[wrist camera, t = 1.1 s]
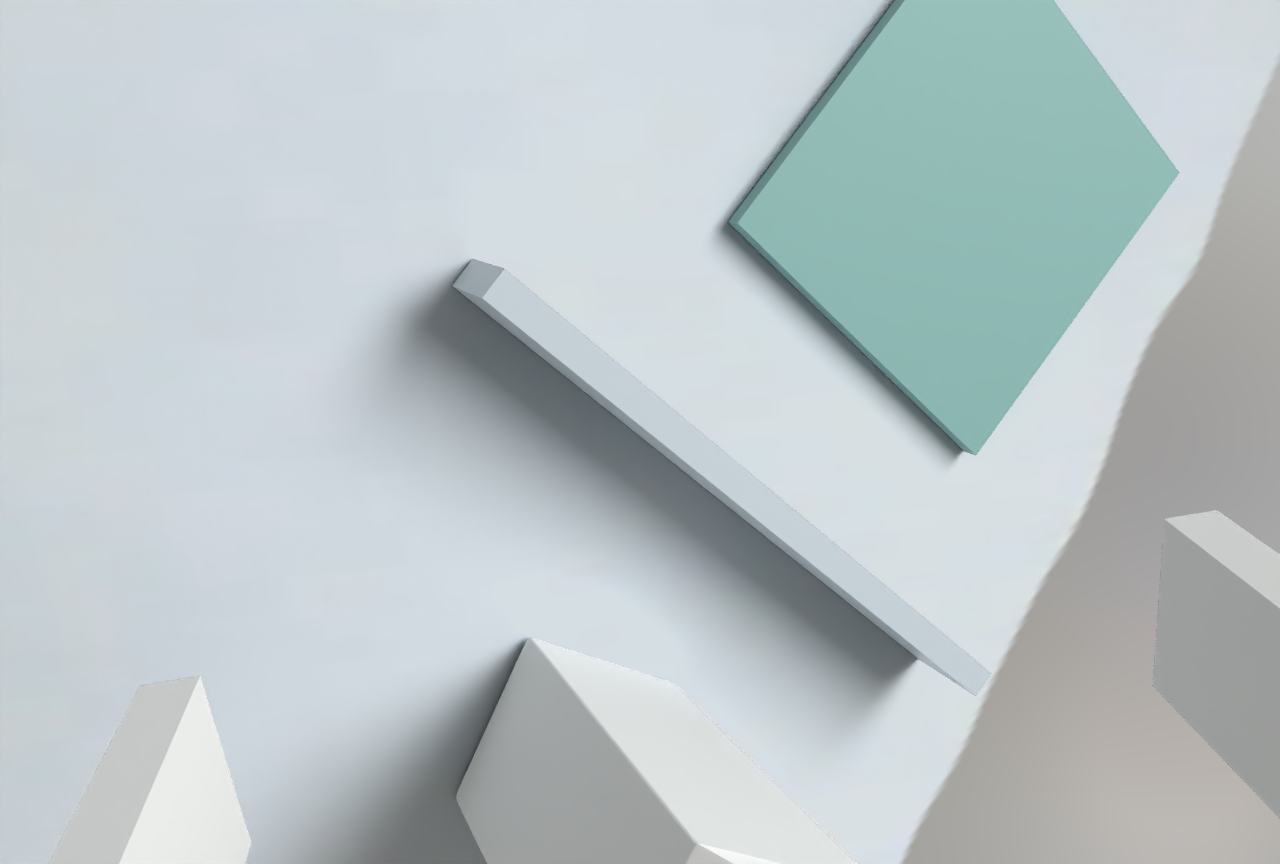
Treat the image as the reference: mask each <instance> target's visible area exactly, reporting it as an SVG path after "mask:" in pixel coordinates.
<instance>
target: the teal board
mask: <svg viewBox="0 0 1280 864" xmlns="http://www.w3.org/2000/svg"><path fill="white" fill-rule="evenodd" d="M1178 174H1179V171H1178V170H1177V169H1176V167H1175V166H1174V165H1173V163H1172V162H1171V160H1170V159H1169V158H1168V156H1167V155H1166V154H1165V152H1164V151H1163V150H1162V148H1161V147H1160V145H1159V144H1158V143H1157V141H1156V140H1155V139H1154V137H1153V136H1152V134H1151V133H1150V132H1149V130H1148V129H1147V128H1146V126H1145V125H1144V124H1143V122H1142V121H1141V119H1140V118H1139V117H1138V115H1137V114H1136V113H1135V111H1134V110H1133V108H1132V107H1131V106H1130V104H1129V103H1128V102H1127V100H1126V99H1125V97H1124V96H1123V95H1122V93H1121V92H1120V91H1119V89H1118V88H1117V87H1116V85H1115V84H1114V82H1113V81H1112V80H1111V78H1110V77H1109V76H1108V74H1107V73H1106V71H1105V70H1104V69H1103V67H1102V66H1101V65H1100V63H1099V62H1098V61H1097V59H1096V58H1095V56H1094V55H1093V54H1092V52H1091V51H1090V50H1089V48H1088V47H1087V45H1086V44H1085V43H1084V41H1083V40H1082V39H1081V37H1080V36H1079V34H1078V33H1077V32H1076V30H1075V29H1074V28H1073V26H1072V25H1071V24H1070V22H1069V21H1068V19H1067V18H1066V17H1065V15H1064V14H1063V13H1062V11H1061V10H1060V8H1059V7H1058V6H1057V4H1056V3H1055V2H1054V0H894V2H893V3H892V4H891V6H890V7H889V8H888V10H887V11H886V12H885V14H884V15H883V16H882V18H881V19H880V20H879V22H878V23H877V24H876V26H875V27H874V28H873V30H872V31H871V32H870V34H869V35H868V36H867V38H866V39H865V40H864V42H863V43H862V44H861V46H860V47H859V48H858V50H857V51H856V52H855V54H854V55H853V56H852V58H851V59H850V60H849V62H848V63H847V64H846V66H845V67H844V68H843V70H842V71H841V72H840V74H839V75H838V76H837V78H836V79H835V80H834V82H833V83H832V84H831V86H830V87H829V88H828V89H827V91H826V92H825V93H824V95H823V96H822V97H821V99H820V100H819V101H818V103H817V104H816V105H815V107H814V108H813V109H812V111H811V112H810V113H809V115H808V116H807V117H806V119H805V120H804V121H803V123H802V124H801V125H800V127H799V128H798V129H797V131H796V132H795V133H794V135H793V136H792V137H791V139H790V140H789V141H788V143H787V144H786V145H785V147H784V148H783V149H782V151H781V152H780V153H779V155H778V156H777V157H776V159H775V160H774V161H773V163H772V164H771V165H770V167H769V168H768V169H767V171H766V172H765V173H764V175H763V176H762V177H761V178H760V180H759V181H758V182H757V184H756V185H755V186H754V188H753V189H752V190H751V192H750V193H749V194H748V196H747V197H746V198H745V200H744V201H743V202H742V204H741V205H740V206H739V208H738V209H737V210H736V212H735V213H734V214H733V216H732V217H731V218H730V220H729V221H728V223H729V224H730V225H731V226H732V227H734V228H735V229H736V230H737V231H738V232H739V233H740V234H741V235H742V236H743V237H744V238H745V239H746V240H747V241H748V242H749V243H750V244H751V245H752V246H753V247H754V248H755V249H756V250H757V251H758V252H759V253H760V254H761V255H762V256H763V257H764V258H765V259H766V260H768V261H769V262H770V263H771V264H772V265H773V266H774V267H775V268H776V269H777V270H778V271H779V272H780V273H781V274H782V275H783V276H784V277H785V278H786V279H787V280H788V281H789V282H790V283H791V284H792V285H793V286H794V287H795V288H796V289H797V290H798V291H799V292H801V293H802V294H803V295H804V296H805V297H806V298H807V299H808V300H809V301H810V302H811V303H812V304H813V305H814V306H815V307H816V308H817V309H818V310H819V311H820V312H821V313H822V314H823V315H824V316H825V317H826V318H827V319H828V320H829V321H830V322H831V323H832V324H833V325H835V326H836V327H837V328H838V329H839V330H840V331H841V332H842V333H843V334H844V335H845V336H846V337H847V338H848V339H849V340H850V341H851V342H852V343H853V344H854V345H855V346H856V347H857V348H858V349H859V350H860V351H861V352H862V353H863V354H864V355H865V356H866V357H868V358H869V359H870V360H871V361H872V362H873V363H874V364H875V365H876V366H877V367H878V368H879V369H880V370H881V371H882V372H883V373H884V374H885V375H886V376H887V377H888V378H889V379H890V380H891V381H892V382H893V383H894V384H895V385H896V386H897V387H898V388H899V389H900V390H902V391H903V392H904V393H905V394H906V395H907V396H908V397H909V398H910V399H911V400H912V401H913V402H914V403H915V404H916V405H917V406H918V407H919V408H920V409H921V410H922V411H923V412H924V413H925V414H926V415H927V416H928V417H929V418H930V419H931V420H932V421H933V422H934V423H936V424H937V425H938V426H939V427H940V428H941V429H942V430H943V431H944V432H945V433H946V434H947V435H948V436H949V437H950V438H951V439H952V440H953V441H954V442H955V443H956V444H957V445H958V446H959V447H960V448H961V449H962V450H963V451H965V452H968V453H970V454H973V455H977V453H978V452H979V450H980V449H981V448H982V446H983V445H984V444H985V442H986V441H987V439H988V438H989V437H990V435H991V434H992V432H993V431H994V430H995V428H996V427H997V425H998V424H999V423H1000V421H1001V420H1002V419H1003V417H1004V416H1005V414H1006V413H1007V412H1008V410H1009V409H1010V407H1011V406H1012V405H1013V403H1014V402H1015V400H1016V399H1017V398H1018V396H1019V395H1020V394H1021V392H1022V391H1023V389H1024V388H1025V387H1026V385H1027V384H1028V382H1029V381H1030V380H1031V378H1032V377H1033V375H1034V374H1035V373H1036V371H1037V370H1038V369H1039V367H1040V366H1041V364H1042V363H1043V362H1044V360H1045V359H1046V357H1047V356H1048V355H1049V353H1050V352H1051V350H1052V349H1053V348H1054V346H1055V345H1056V344H1057V342H1058V341H1059V339H1060V338H1061V337H1062V335H1063V334H1064V332H1065V331H1066V330H1067V328H1068V327H1069V325H1070V324H1071V323H1072V321H1073V320H1074V319H1075V317H1076V316H1077V314H1078V313H1079V312H1080V310H1081V309H1082V307H1083V306H1084V305H1085V303H1086V302H1087V300H1088V299H1089V298H1090V296H1091V295H1092V294H1093V292H1094V291H1095V289H1096V288H1097V287H1098V285H1099V284H1100V282H1101V281H1102V280H1103V278H1104V277H1105V275H1106V274H1107V273H1108V271H1109V270H1110V269H1111V267H1112V266H1113V264H1114V263H1115V262H1116V260H1117V259H1118V257H1119V256H1120V255H1121V253H1122V252H1123V250H1124V249H1125V248H1126V246H1127V245H1128V244H1129V242H1130V241H1131V239H1132V238H1133V237H1134V235H1135V234H1136V232H1137V231H1138V230H1139V228H1140V227H1141V225H1142V224H1143V223H1144V221H1145V220H1146V219H1147V217H1148V216H1149V214H1150V213H1151V212H1152V210H1153V209H1154V207H1155V206H1156V205H1157V203H1158V202H1159V200H1160V199H1161V198H1162V196H1163V195H1164V194H1165V192H1166V191H1167V189H1168V188H1169V187H1170V185H1171V184H1172V182H1173V181H1174V180H1175V178H1176V177H1177V175H1178Z"/></svg>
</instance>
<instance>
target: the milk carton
mask: <svg viewBox="0 0 1280 864" xmlns="http://www.w3.org/2000/svg"><path fill="white" fill-rule="evenodd" d="M456 800H457V803H458V805H459V807H460V809H461V811H462V813H463V815H464V817H465V819H466V822H467V824H468V826H469V828H470V830H471V832H472V834H473V836H474V838H475V840H476V842H477V844H478V846H479V848H480V850H481V853H482V855H483V857H484V859H485V861H486V863H487V864H857V863H856V862H855V861H854V860H853V859H852V858H851V857H850V856H849V855H848V854H847V853H846V852H845V851H844V850H843V849H842V848H841V847H840V846H839V845H838V844H837V843H836V842H835V841H834V840H833V839H832V838H831V837H830V836H829V835H828V834H827V833H826V832H825V831H824V830H823V829H822V828H821V827H820V826H819V825H818V824H817V823H816V822H815V821H814V820H813V819H812V818H811V817H810V816H809V815H808V814H807V813H806V812H805V811H804V810H803V809H802V808H801V807H800V806H799V805H798V804H797V803H796V802H795V801H794V800H793V799H792V798H791V797H790V796H789V795H788V794H787V793H786V792H785V791H784V790H783V789H782V788H781V787H780V786H779V785H777V784H776V783H775V782H774V781H773V780H772V779H771V778H770V777H769V776H768V775H767V774H766V773H765V772H764V771H763V770H762V769H761V768H760V767H759V766H758V765H757V764H756V763H755V762H754V761H753V760H752V759H751V758H750V757H749V756H748V755H747V754H746V753H745V752H744V751H743V750H742V749H741V748H740V747H739V746H738V745H737V744H736V743H735V742H734V741H733V740H732V739H731V738H730V737H729V736H728V735H727V734H726V733H725V732H724V731H723V730H722V729H721V728H720V727H719V726H718V725H717V724H716V723H715V722H714V721H713V720H712V719H711V718H710V717H709V716H708V715H707V714H706V713H705V712H704V711H703V710H702V709H701V708H700V707H699V706H698V705H697V704H696V703H695V702H694V701H693V700H692V699H691V698H690V697H689V696H688V695H687V694H685V693H684V692H683V691H682V690H681V689H680V688H679V687H678V686H677V685H676V684H675V683H673V682H670V681H667V680H664V679H661V678H658V677H655V676H651V675H648V674H645V673H642V672H639V671H636V670H633V669H629V668H626V667H623V666H620V665H617V664H614V663H611V662H607V661H604V660H601V659H598V658H595V657H592V656H589V655H585V654H582V653H579V652H576V651H573V650H570V649H567V648H563V647H560V646H557V645H554V644H551V643H548V642H544V641H541V640H538V639H535V638H529V639H528V640H527V641H526V643H525V645H524V647H523V649H522V651H521V653H520V655H519V658H518V660H517V662H516V664H515V666H514V669H513V671H512V673H511V675H510V677H509V679H508V682H507V684H506V686H505V688H504V690H503V693H502V695H501V697H500V699H499V701H498V704H497V706H496V708H495V710H494V712H493V714H492V717H491V719H490V721H489V723H488V725H487V728H486V730H485V732H484V734H483V736H482V739H481V741H480V743H479V745H478V747H477V750H476V752H475V754H474V756H473V758H472V760H471V763H470V765H469V767H468V769H467V771H466V774H465V776H464V778H463V780H462V782H461V785H460V787H459V789H458V792H457V795H456Z"/></svg>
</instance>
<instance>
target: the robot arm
mask: <svg viewBox="0 0 1280 864" xmlns="http://www.w3.org/2000/svg"><path fill="white" fill-rule="evenodd" d="M1155 643H1156V644H1155V657H1154V671H1153V685H1152V686H1153V687H1154V688H1155V689H1156V690H1157V691H1158V692H1159V693H1160V694H1161V695H1162V696H1163V697H1164V698H1165V699H1166V701H1167V702H1168V703H1170V705H1171V706H1172V707H1173V708H1174V709H1175V710H1176V711H1177V712H1178V713H1179V714H1180V715H1181V716H1182V717H1183V718H1184V719H1185V720H1186V721H1187V722H1188V723H1189V724H1190V726H1191V727H1192V728H1193V729H1194V730H1195V731H1196V732H1197V733H1198V734H1199V735H1200V736H1201V737H1202V738H1203V739H1204V740H1205V741H1206V742H1207V743H1208V744H1209V745H1210V746H1211V747H1212V748H1213V749H1214V750H1215V752H1216V753H1217V754H1218V755H1219V756H1220V757H1221V758H1222V759H1223V760H1224V761H1225V762H1226V763H1227V764H1228V765H1229V766H1230V767H1231V768H1232V769H1233V770H1234V771H1235V772H1236V773H1237V774H1238V775H1239V776H1240V778H1241V779H1242V780H1243V781H1244V782H1245V783H1246V784H1247V785H1248V786H1249V787H1250V788H1251V789H1252V790H1253V791H1254V792H1255V793H1256V794H1257V795H1258V796H1259V797H1260V798H1261V799H1262V800H1263V801H1264V803H1265V804H1267V806H1268V807H1269V808H1270V809H1271V810H1272V811H1273V812H1274V813H1275V814H1276V815H1277V816H1278V817H1279V818H1280V555H1279V554H1278V553H1276V552H1275V551H1274V550H1272V549H1271V548H1269V547H1268V546H1267V545H1265V544H1264V543H1262V542H1261V541H1259V540H1258V539H1257V538H1255V537H1254V536H1252V535H1251V534H1250V533H1248V532H1247V531H1245V530H1244V529H1242V528H1241V527H1240V526H1238V525H1237V524H1235V523H1234V522H1233V521H1231V520H1230V519H1228V518H1227V517H1225V516H1224V515H1223V514H1221V513H1220V512H1218V511H1217V510H1216V511H1210V512H1203V513H1198V514H1192V515H1185V516H1179V517H1173V518H1167V519H1164V529H1163V543H1162V557H1161V571H1160V585H1159V600H1158V614H1157V629H1156V642H1155ZM250 846H251V840H250V837H249V833H248V830H247V827H246V824H245V820H244V817H243V814H242V811H241V807H240V804H239V801H238V798H237V794H236V791H235V788H234V785H233V781H232V778H231V775H230V772H229V768H228V765H227V762H226V759H225V755H224V752H223V749H222V746H221V742H220V739H219V736H218V733H217V730H216V726H215V723H214V720H213V717H212V713H211V710H210V707H209V704H208V700H207V697H206V694H205V691H204V687H203V684H202V681H201V678H200V676H196V677H190V678H183V679H177V680H171V681H165V682H159V683H153V684H147V685H140V686H139V688H138V690H137V692H136V694H135V696H134V698H133V700H132V702H131V704H130V706H129V708H128V710H127V712H126V713H125V715H124V717H123V719H122V721H121V723H120V725H119V727H118V729H117V731H116V733H115V735H114V737H113V739H112V741H111V743H110V745H109V747H108V749H107V751H106V753H105V754H104V756H103V758H102V760H101V762H100V764H99V766H98V768H97V770H96V772H95V774H94V776H93V778H92V780H91V782H90V784H89V786H88V788H87V790H86V792H85V794H84V795H83V797H82V799H81V801H80V803H79V805H78V807H77V809H76V811H75V813H74V815H73V817H72V819H71V821H70V823H69V825H68V827H67V829H66V831H65V833H64V835H63V837H62V838H61V840H60V842H59V844H58V846H57V848H56V850H55V852H54V854H53V856H52V858H51V860H50V862H49V864H245V863H246V860H247V856H248V853H249V849H250Z"/></svg>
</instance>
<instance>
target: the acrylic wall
mask: <svg viewBox="0 0 1280 864" xmlns="http://www.w3.org/2000/svg"><path fill="white" fill-rule="evenodd" d="M452 286H453V287H454V288H455V289H457V290H458V291H459V292H460V293H462V294H463V295H464V296H465V297H467V298H468V299H469V300H470V301H472V302H473V303H474V304H475V305H477V306H478V307H479V308H480V309H482V310H483V311H484V312H485V313H487V314H488V315H489V316H490V317H492V318H493V319H494V320H495V321H497V322H498V323H499V324H500V325H502V326H503V327H504V328H505V329H507V330H508V331H509V332H510V333H512V334H513V335H514V336H515V337H517V338H518V339H519V340H520V341H522V342H523V343H524V344H525V345H527V346H528V347H529V348H530V349H532V350H533V351H534V352H535V353H537V354H538V355H539V356H540V357H542V358H543V359H544V360H545V361H547V362H548V363H549V364H550V365H552V366H553V367H554V368H555V369H557V370H558V371H559V372H560V373H562V374H563V375H564V376H565V377H567V378H568V379H569V380H570V381H572V382H573V383H574V384H575V385H577V386H578V387H579V388H580V389H582V390H583V391H584V392H585V393H587V394H588V395H589V396H590V397H592V398H593V399H594V400H595V401H597V402H598V403H599V404H600V405H602V406H603V407H604V408H605V409H607V410H608V411H609V412H610V413H612V414H613V415H614V416H615V417H617V418H618V419H619V420H620V421H622V422H623V423H624V424H625V425H627V426H628V427H629V428H630V429H632V430H633V431H634V432H635V433H637V434H638V435H639V436H640V437H642V438H643V439H644V440H645V441H647V442H648V443H649V444H650V445H652V446H653V447H654V448H655V449H657V450H658V451H659V452H660V453H662V454H663V455H664V456H665V457H667V458H668V459H669V460H670V461H672V462H673V463H674V464H675V465H677V466H678V467H679V468H680V469H682V470H683V471H684V472H685V473H687V474H688V475H689V476H690V477H692V478H693V479H694V480H695V481H697V482H698V483H699V484H700V485H702V486H703V487H704V488H705V489H707V490H708V491H709V492H710V493H712V494H713V495H714V496H715V497H717V498H718V499H719V500H720V501H722V502H723V503H724V504H725V505H727V506H728V507H729V508H730V509H732V510H733V511H734V512H735V513H737V514H738V515H739V516H740V517H742V518H743V519H744V520H745V521H747V522H748V523H749V524H750V525H752V526H753V527H754V528H755V529H757V530H758V531H759V532H760V533H762V534H763V535H764V536H765V537H767V538H768V539H769V540H770V541H772V542H773V543H774V544H775V545H777V546H778V547H779V548H780V549H782V550H783V551H784V552H785V553H787V554H788V555H789V556H790V557H792V558H793V559H794V560H795V561H797V562H798V563H799V564H800V565H802V566H803V567H804V568H805V569H807V570H808V571H809V572H810V573H812V574H813V575H814V576H815V577H817V578H818V579H819V580H820V581H822V582H823V583H824V584H825V585H827V586H828V587H829V588H830V589H832V590H833V591H834V592H835V593H837V594H838V595H839V596H840V597H842V598H843V599H844V600H845V601H847V602H848V603H849V604H850V605H852V606H853V607H854V608H855V609H857V610H858V611H859V612H860V613H862V614H863V615H864V616H865V617H867V618H868V619H869V620H870V621H872V622H873V623H874V624H875V625H877V626H878V627H879V628H880V629H882V630H883V631H884V632H885V633H887V634H888V635H889V636H890V637H892V638H893V639H894V640H895V641H897V642H898V643H899V644H900V645H902V646H903V647H904V648H905V649H907V650H908V651H909V652H910V653H912V654H913V655H914V656H915V657H917V658H918V659H919V660H921V661H922V662H924V663H925V664H927V665H928V666H930V667H931V668H933V669H935V670H936V671H938V672H939V673H941V674H942V675H944V676H945V677H947V678H949V679H950V680H952V681H953V682H955V683H956V684H958V685H959V686H961V687H962V688H964V689H966V690H967V691H969V692H970V693H972V694H973V695H975V696H976V695H977V694H978V692H979V691H980V689H981V688H982V686H983V685H984V684H985V682H986V681H987V679H988V678H989V677H990V675H991V674H992V673H991V672H989V671H988V670H987V669H986V668H985V667H983V666H982V665H981V664H980V663H979V662H977V661H976V660H975V659H974V658H973V657H971V656H970V655H969V654H968V653H966V652H965V651H964V650H963V649H962V648H960V647H959V646H958V645H957V644H956V643H954V642H953V641H952V640H951V639H950V638H948V637H947V636H946V635H945V634H944V633H942V632H941V631H940V630H939V629H938V628H936V627H935V626H934V625H933V624H932V623H930V622H929V621H928V620H927V619H926V618H924V617H923V616H922V615H921V614H920V613H918V612H917V611H916V610H915V609H914V608H912V607H911V606H910V605H909V604H908V603H906V602H905V601H904V600H903V599H902V598H900V597H899V596H898V595H897V594H896V593H894V592H893V591H892V590H891V589H890V588H888V587H887V586H886V585H885V584H884V583H882V582H881V581H880V580H879V579H877V578H876V577H875V576H874V575H873V574H871V573H870V572H869V571H868V570H867V569H865V568H864V567H863V566H862V565H861V564H859V563H858V562H857V561H856V560H855V559H853V558H852V557H851V556H850V555H849V554H847V553H846V552H845V551H844V550H843V549H841V548H840V547H839V546H838V545H837V544H835V543H834V542H833V541H832V540H831V539H829V538H828V537H827V536H826V535H825V534H823V533H822V532H821V531H820V530H819V529H817V528H816V527H815V526H814V525H813V524H811V523H810V522H809V521H808V520H807V519H805V518H804V517H803V516H802V515H801V514H799V513H798V512H797V511H796V510H795V509H793V508H792V507H791V506H790V505H789V504H787V503H786V502H785V501H784V500H782V499H781V498H780V497H779V496H778V495H776V494H775V493H774V492H773V491H772V490H770V489H769V488H768V487H767V486H766V485H764V484H763V483H762V482H761V481H760V480H758V479H757V478H756V477H755V476H754V475H752V474H751V473H750V472H749V471H748V470H746V469H745V468H744V467H743V466H742V465H740V464H739V463H738V462H737V461H736V460H734V459H733V458H732V457H731V456H730V455H728V454H727V453H726V452H725V451H724V450H722V449H721V448H720V447H719V446H718V445H716V444H715V443H714V442H713V441H712V440H710V439H709V438H708V437H707V436H706V435H704V434H703V433H702V432H701V431H700V430H698V429H697V428H696V427H695V426H693V425H692V424H691V423H690V422H689V421H687V420H686V419H685V418H684V417H683V416H681V415H680V414H679V413H678V412H677V411H675V410H674V409H673V408H672V407H671V406H669V405H668V404H667V403H666V402H665V401H663V400H662V399H661V398H660V397H659V396H657V395H656V394H655V393H654V392H653V391H651V390H650V389H649V388H648V387H647V386H645V385H644V384H643V383H642V382H641V381H639V380H638V379H637V378H636V377H635V376H633V375H632V374H631V373H630V372H629V371H627V370H626V369H625V368H624V367H623V366H621V365H620V364H619V363H618V362H617V361H615V360H614V359H613V358H612V357H611V356H609V355H608V354H607V353H606V352H604V351H603V350H602V349H601V348H600V347H598V346H597V345H596V344H595V343H594V342H592V341H591V340H590V339H589V338H588V337H586V336H585V335H584V334H583V333H582V332H580V331H579V330H578V329H577V328H576V327H574V326H573V325H572V324H571V323H570V322H568V321H567V320H566V319H565V318H564V317H562V316H561V315H560V314H559V313H558V312H556V311H555V310H554V309H553V308H552V307H550V306H549V305H548V304H547V303H546V302H544V301H543V300H542V299H541V298H540V297H538V296H537V295H536V294H535V293H534V292H532V291H531V290H530V289H529V288H528V287H526V286H525V285H524V284H523V283H522V282H520V281H519V280H518V279H517V278H515V277H514V276H513V275H512V274H511V273H509V272H508V271H507V270H506V269H504V268H501V267H498V266H494V265H491V264H488V263H484V262H481V261H478V260H475V259H472V260H471V261H470V263H469V264H468V265H467V267H466V268H465V269H464V271H463V272H462V273H461V274H460V276H459V277H458V278H457V280H456V281H455V282H454V284H453V285H452Z"/></svg>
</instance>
